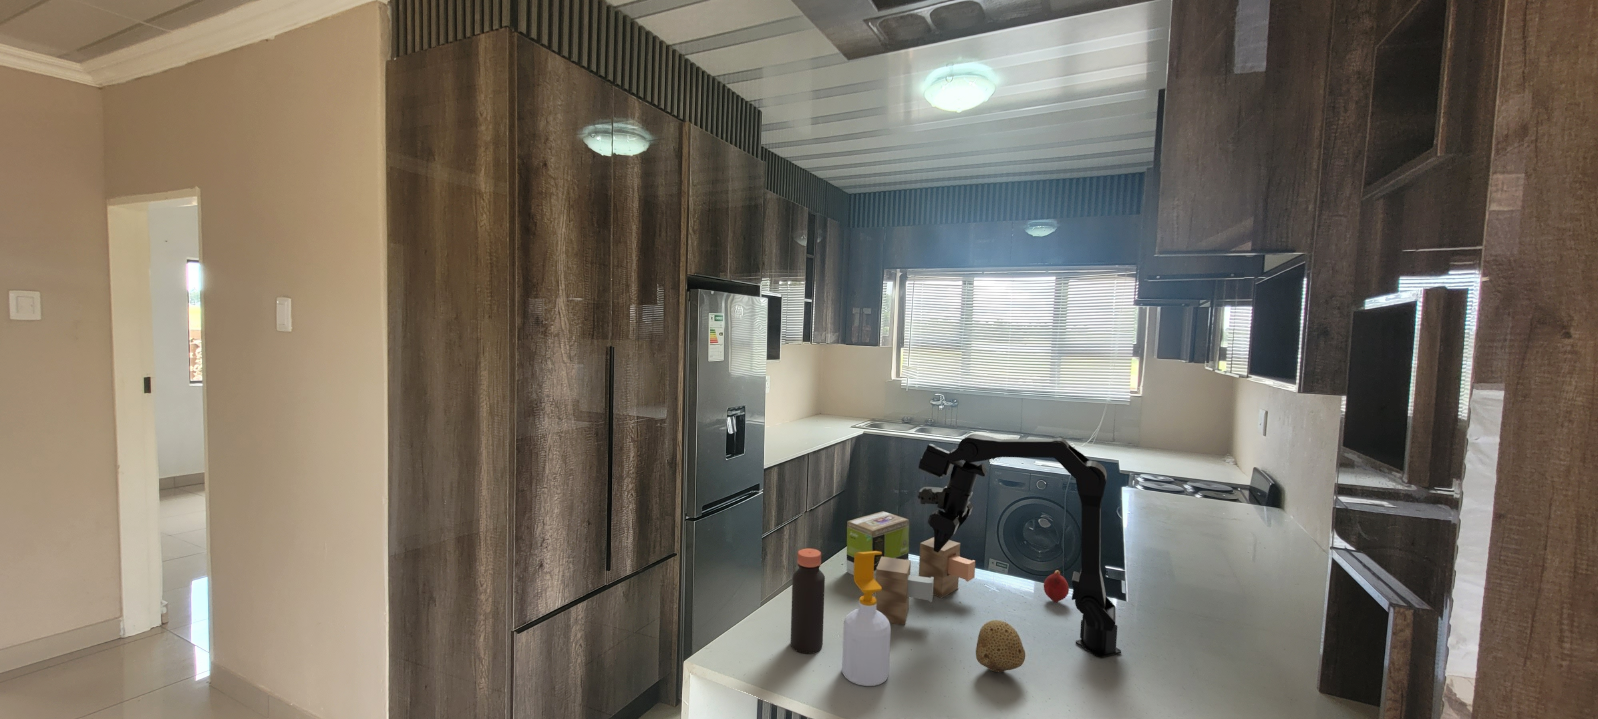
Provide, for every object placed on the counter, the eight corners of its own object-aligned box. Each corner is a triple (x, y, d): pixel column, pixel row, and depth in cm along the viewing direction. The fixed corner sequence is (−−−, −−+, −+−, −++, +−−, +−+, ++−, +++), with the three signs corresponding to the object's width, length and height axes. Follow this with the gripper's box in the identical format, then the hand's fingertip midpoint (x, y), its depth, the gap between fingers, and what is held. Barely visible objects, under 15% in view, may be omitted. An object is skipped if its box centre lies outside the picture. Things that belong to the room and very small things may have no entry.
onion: (1064, 609, 146) (1066, 577, 145) (1040, 602, 149) (1041, 571, 149) (1070, 601, 151) (1072, 570, 150) (1046, 594, 154) (1048, 564, 154)
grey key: (932, 595, 140) (933, 577, 139) (931, 601, 136) (932, 582, 136) (900, 590, 142) (900, 572, 141) (898, 596, 138) (899, 578, 138)
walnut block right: (958, 588, 156) (960, 543, 155) (941, 597, 150) (944, 550, 150) (934, 579, 161) (936, 535, 160) (918, 588, 155) (920, 543, 155)
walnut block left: (908, 609, 144) (910, 560, 143) (905, 625, 136) (907, 573, 135) (879, 604, 146) (881, 556, 145) (874, 619, 138) (876, 569, 137)
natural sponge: (1032, 673, 118) (1034, 624, 118) (1010, 691, 112) (1013, 640, 111) (989, 654, 125) (992, 607, 124) (967, 670, 119) (969, 621, 118)
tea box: (882, 559, 174) (884, 509, 173) (909, 571, 166) (911, 519, 165) (844, 572, 164) (846, 519, 163) (871, 585, 157) (873, 529, 156)
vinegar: (825, 640, 128) (828, 548, 127) (818, 656, 122) (821, 560, 121) (795, 634, 130) (798, 544, 129) (786, 650, 124) (789, 556, 123)
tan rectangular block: (974, 577, 150) (975, 560, 150) (967, 581, 148) (968, 564, 148) (947, 568, 156) (948, 551, 155) (940, 572, 153) (941, 555, 153)
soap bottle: (851, 690, 111) (856, 560, 110) (835, 663, 120) (839, 542, 118) (896, 683, 113) (901, 557, 112) (877, 657, 122) (882, 539, 121)
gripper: (938, 465, 153) (921, 520, 156) (916, 481, 136) (897, 542, 139) (981, 482, 148) (962, 539, 151) (963, 500, 132) (943, 564, 134)
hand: (941, 545), depth 144 cm, fingers open, 9 cm apart
